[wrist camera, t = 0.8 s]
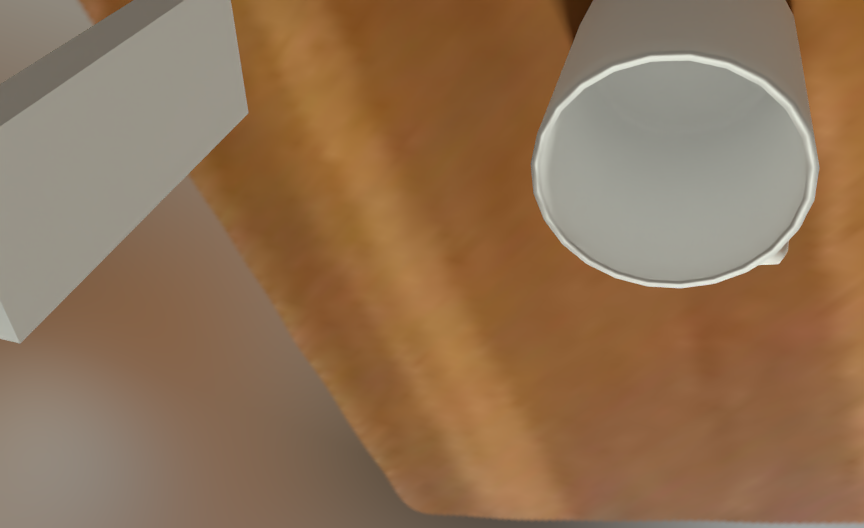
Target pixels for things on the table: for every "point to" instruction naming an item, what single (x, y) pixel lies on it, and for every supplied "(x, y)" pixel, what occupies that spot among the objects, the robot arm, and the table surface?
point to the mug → (678, 140)
